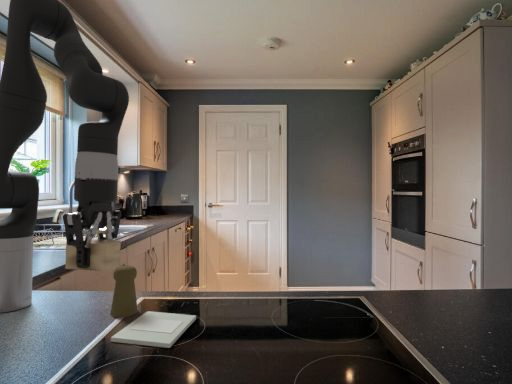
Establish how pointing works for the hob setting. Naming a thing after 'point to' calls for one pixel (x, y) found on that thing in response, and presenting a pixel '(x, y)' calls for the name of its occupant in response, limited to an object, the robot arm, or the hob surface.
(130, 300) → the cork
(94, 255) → the oak block
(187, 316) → the board
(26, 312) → the hob surface
